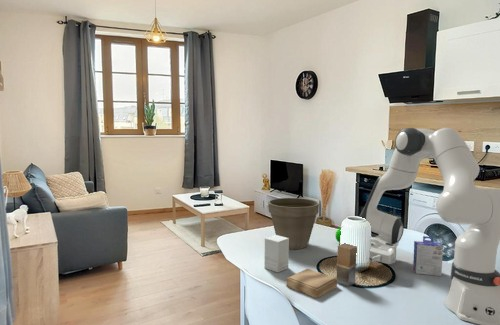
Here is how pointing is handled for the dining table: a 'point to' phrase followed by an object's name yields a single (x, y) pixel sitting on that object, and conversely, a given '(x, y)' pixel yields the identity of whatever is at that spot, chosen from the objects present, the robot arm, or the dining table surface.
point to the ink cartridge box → (428, 257)
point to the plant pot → (294, 219)
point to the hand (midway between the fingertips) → (359, 256)
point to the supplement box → (276, 253)
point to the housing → (346, 264)
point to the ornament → (338, 235)
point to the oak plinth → (311, 283)
